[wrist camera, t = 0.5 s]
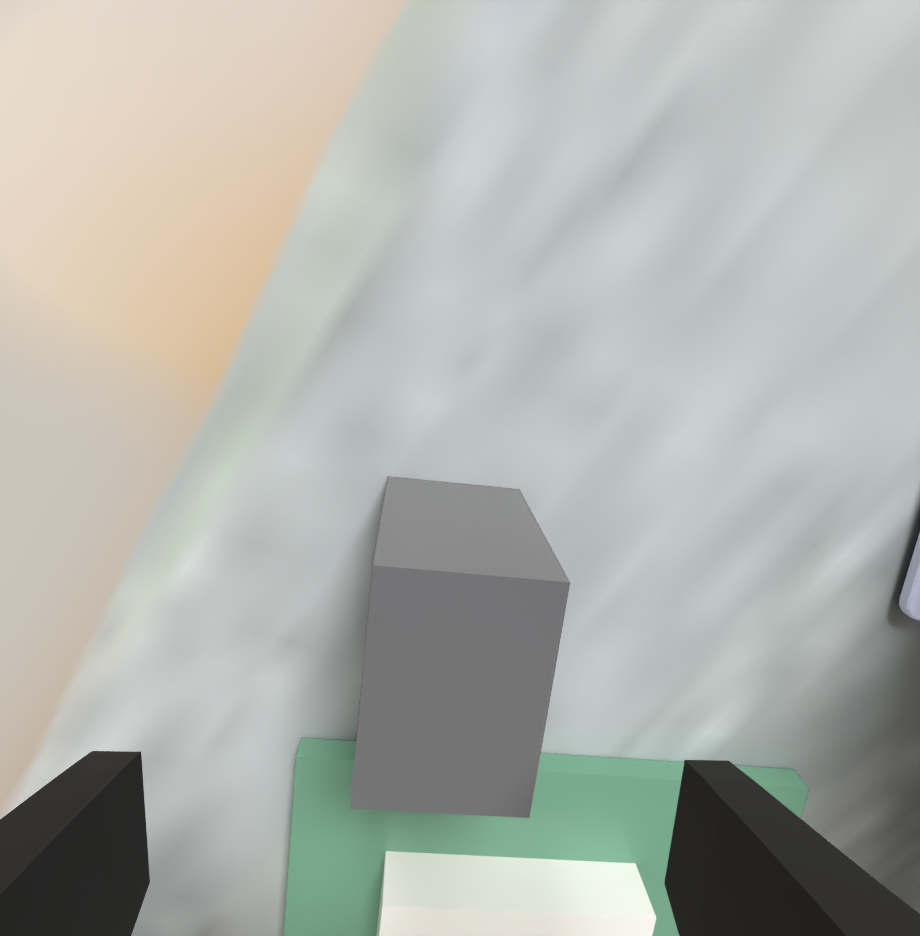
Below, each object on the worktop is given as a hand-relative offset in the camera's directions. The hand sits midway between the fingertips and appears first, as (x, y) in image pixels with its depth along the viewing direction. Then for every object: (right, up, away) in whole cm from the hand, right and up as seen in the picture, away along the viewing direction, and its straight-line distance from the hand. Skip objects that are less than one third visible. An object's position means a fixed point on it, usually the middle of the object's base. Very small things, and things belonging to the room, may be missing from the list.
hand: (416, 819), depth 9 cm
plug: (0, +2, +9) cm, 9 cm away
